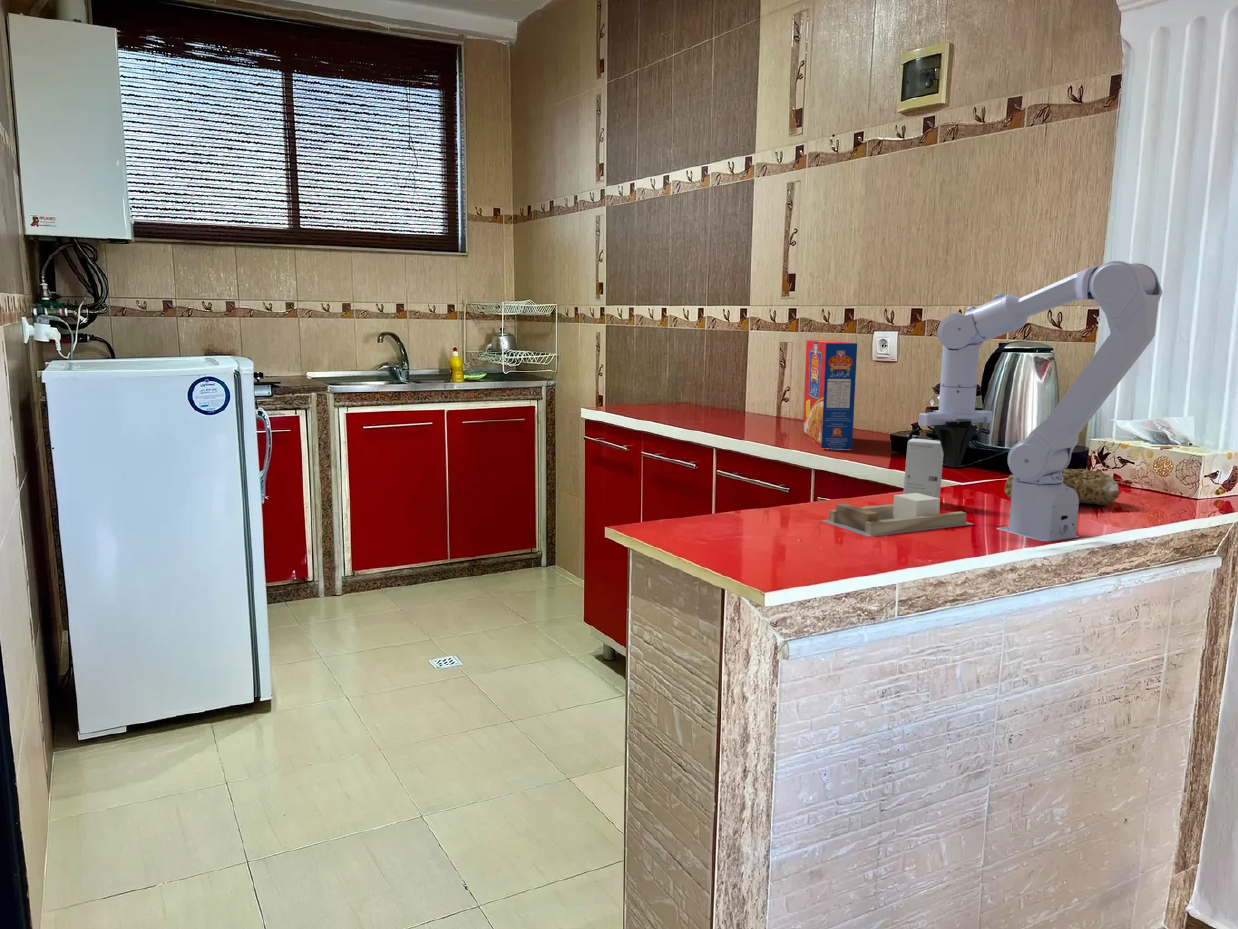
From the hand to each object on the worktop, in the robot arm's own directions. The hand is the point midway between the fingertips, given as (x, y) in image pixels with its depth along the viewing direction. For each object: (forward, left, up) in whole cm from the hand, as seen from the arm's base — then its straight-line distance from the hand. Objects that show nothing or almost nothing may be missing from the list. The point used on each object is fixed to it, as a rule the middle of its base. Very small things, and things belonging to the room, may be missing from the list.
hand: (952, 466), depth 151 cm
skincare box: (+11, -5, -10) cm, 16 cm away
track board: (0, +11, -9) cm, 15 cm away
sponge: (+2, -29, -10) cm, 31 cm away
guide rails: (0, +11, -9) cm, 15 cm away
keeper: (0, +7, -9) cm, 12 cm away
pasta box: (+86, -40, -10) cm, 96 cm away
